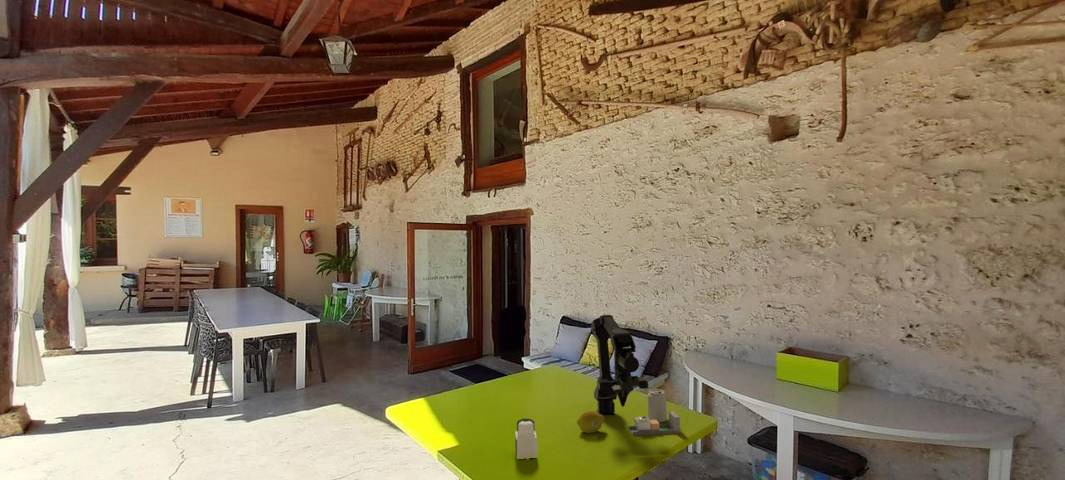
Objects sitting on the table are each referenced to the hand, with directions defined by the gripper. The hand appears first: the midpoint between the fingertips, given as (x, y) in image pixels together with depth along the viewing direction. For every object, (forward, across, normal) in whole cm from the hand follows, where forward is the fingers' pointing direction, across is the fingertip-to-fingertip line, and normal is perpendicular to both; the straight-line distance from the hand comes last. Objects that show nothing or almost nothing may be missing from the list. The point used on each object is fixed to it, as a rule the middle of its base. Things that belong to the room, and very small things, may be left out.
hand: (622, 406), depth 182 cm
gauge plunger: (+10, +8, 0) cm, 12 cm away
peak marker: (+10, +12, 0) cm, 16 cm away
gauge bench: (+10, +12, 0) cm, 16 cm away
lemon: (+10, -12, +2) cm, 16 cm away
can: (+10, +17, +11) cm, 23 cm away
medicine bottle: (+10, -38, -15) cm, 42 cm away
